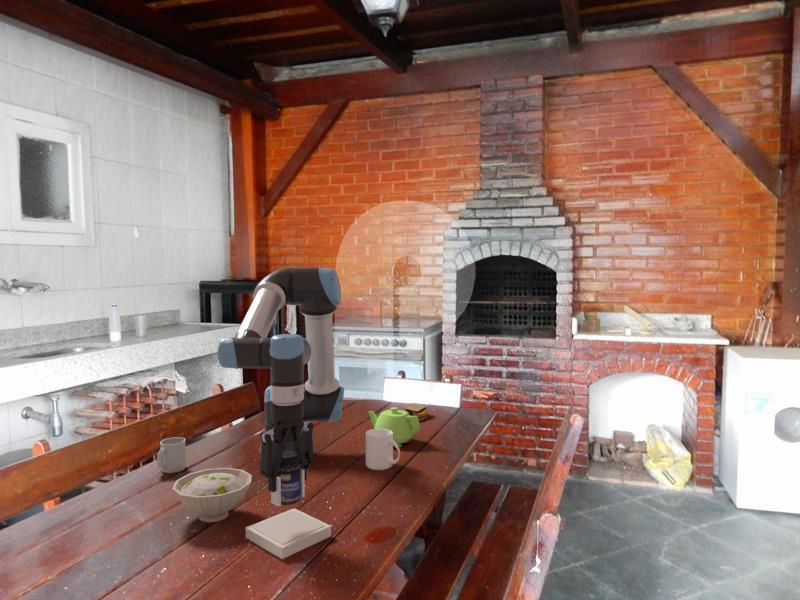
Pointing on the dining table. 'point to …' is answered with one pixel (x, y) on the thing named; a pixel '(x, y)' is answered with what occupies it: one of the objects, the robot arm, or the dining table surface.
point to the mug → (380, 449)
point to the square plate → (288, 533)
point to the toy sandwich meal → (417, 411)
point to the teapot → (396, 424)
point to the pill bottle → (290, 478)
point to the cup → (172, 455)
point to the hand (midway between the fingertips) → (288, 499)
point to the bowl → (212, 491)
